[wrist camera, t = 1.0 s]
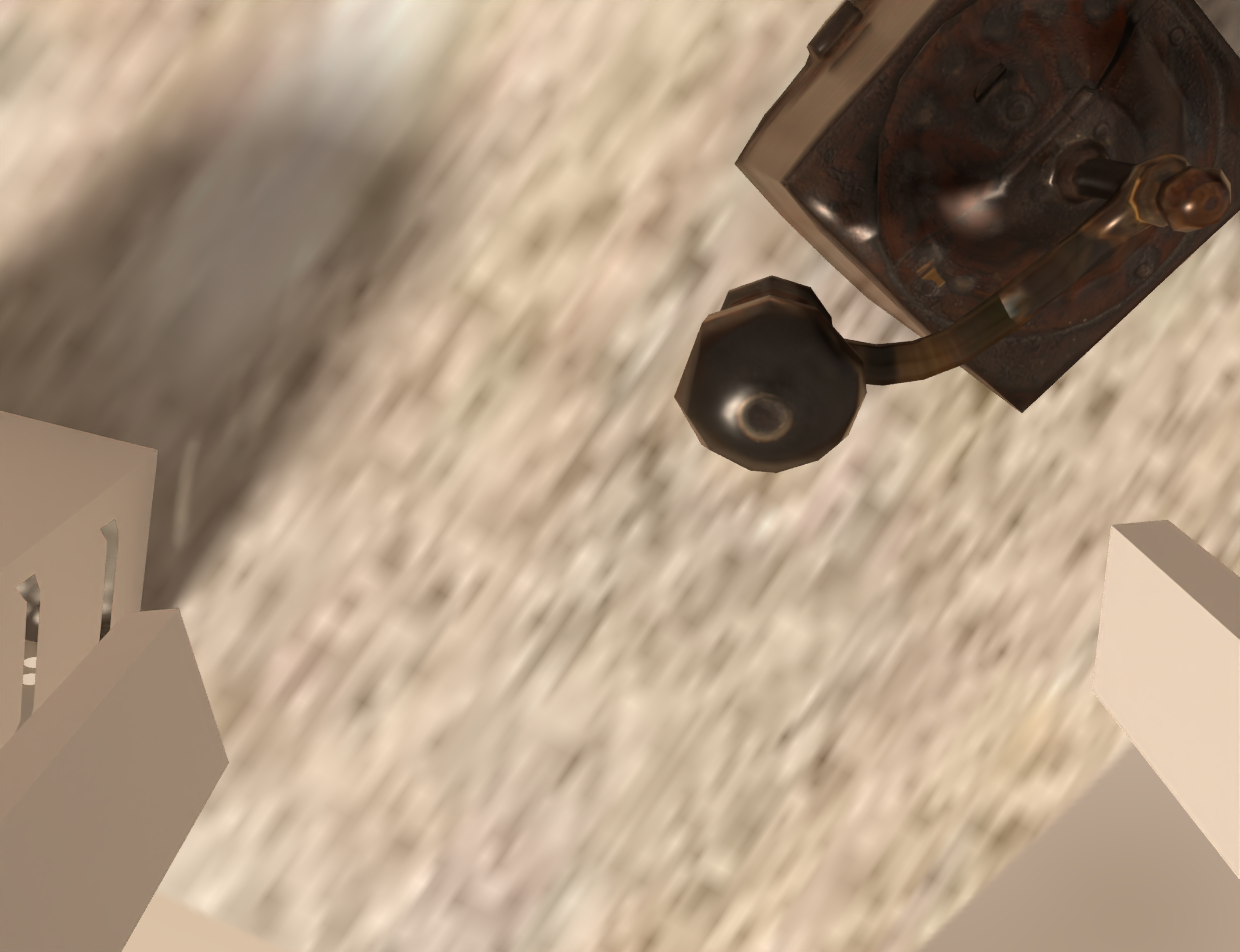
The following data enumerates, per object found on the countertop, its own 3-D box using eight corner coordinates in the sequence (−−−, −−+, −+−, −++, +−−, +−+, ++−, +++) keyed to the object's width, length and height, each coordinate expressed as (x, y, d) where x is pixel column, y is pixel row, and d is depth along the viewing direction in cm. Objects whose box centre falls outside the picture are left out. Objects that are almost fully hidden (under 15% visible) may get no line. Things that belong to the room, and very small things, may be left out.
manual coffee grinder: (932, -110, 30) (1325, -345, 14) (1141, 127, 33) (1673, 167, 17) (621, 258, 35) (635, 414, 18) (829, 439, 38) (1006, 716, 21)
